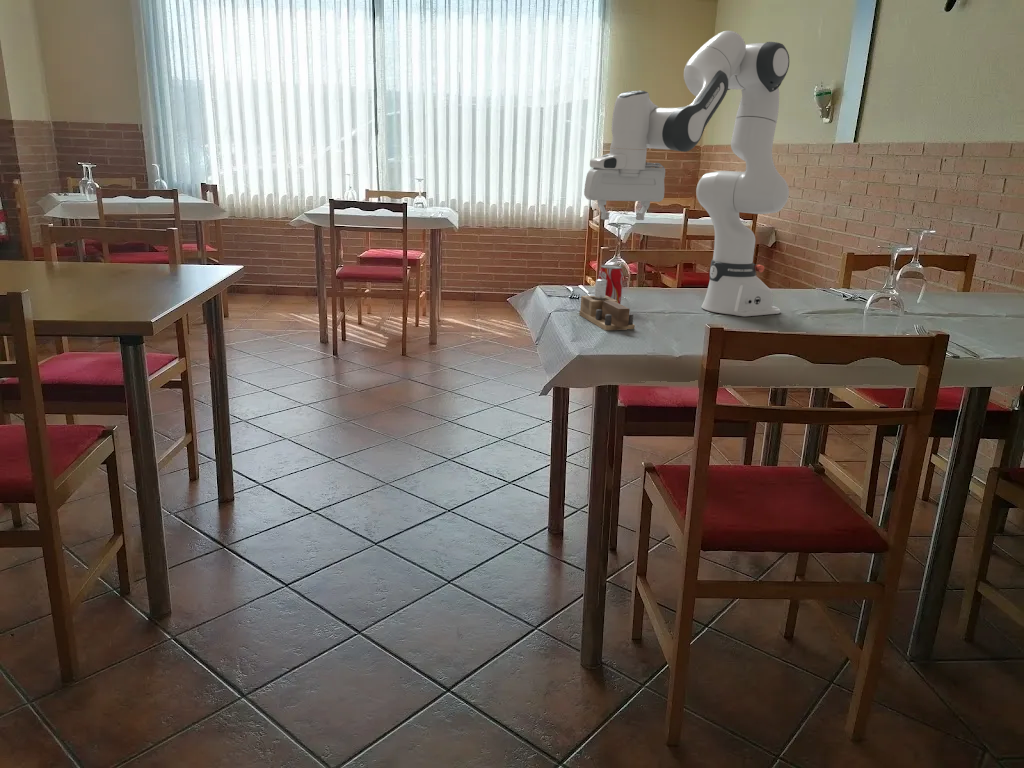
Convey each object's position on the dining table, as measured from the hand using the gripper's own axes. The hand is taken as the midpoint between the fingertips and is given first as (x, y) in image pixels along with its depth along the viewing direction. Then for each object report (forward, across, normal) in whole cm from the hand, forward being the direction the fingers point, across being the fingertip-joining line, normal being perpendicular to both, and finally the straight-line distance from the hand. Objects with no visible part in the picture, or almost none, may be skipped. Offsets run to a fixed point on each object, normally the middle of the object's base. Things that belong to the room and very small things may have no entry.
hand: (622, 219), depth 192 cm
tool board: (+27, 0, -5) cm, 28 cm away
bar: (+26, 0, 0) cm, 26 cm away
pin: (+26, 0, -10) cm, 28 cm away
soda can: (+27, -8, -22) cm, 36 cm away
